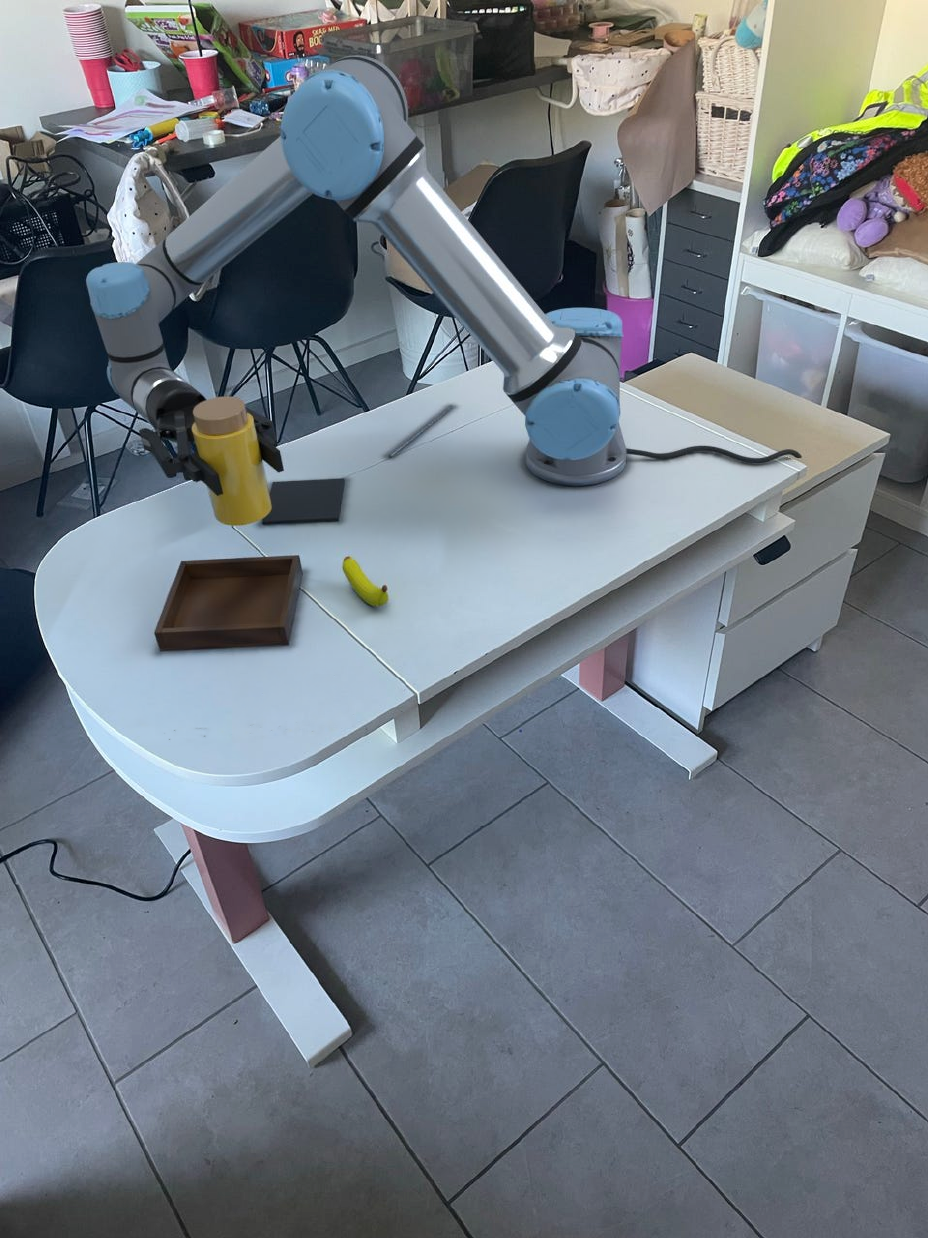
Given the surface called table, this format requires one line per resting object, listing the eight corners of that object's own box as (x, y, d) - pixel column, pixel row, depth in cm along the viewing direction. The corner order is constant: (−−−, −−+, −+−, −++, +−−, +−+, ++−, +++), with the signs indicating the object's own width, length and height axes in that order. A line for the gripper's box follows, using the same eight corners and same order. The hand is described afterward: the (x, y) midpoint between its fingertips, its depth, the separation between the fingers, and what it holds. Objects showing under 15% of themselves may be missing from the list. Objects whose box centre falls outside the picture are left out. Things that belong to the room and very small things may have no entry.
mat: (345, 481, 138) (344, 477, 138) (338, 521, 130) (338, 517, 130) (273, 485, 139) (272, 481, 138) (262, 525, 130) (261, 521, 130)
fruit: (397, 615, 113) (393, 583, 110) (382, 622, 112) (378, 590, 109) (356, 577, 119) (351, 546, 116) (342, 583, 118) (336, 552, 115)
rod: (453, 408, 156) (453, 405, 156) (392, 458, 144) (391, 455, 143) (450, 407, 156) (450, 404, 156) (388, 457, 144) (388, 453, 144)
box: (303, 573, 121) (299, 554, 119) (288, 645, 109) (284, 626, 107) (186, 579, 121) (180, 560, 119) (160, 651, 110) (153, 632, 108)
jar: (275, 493, 117) (254, 392, 108) (267, 524, 111) (244, 420, 102) (220, 496, 117) (194, 395, 108) (209, 527, 111) (181, 423, 102)
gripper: (246, 409, 128) (328, 471, 113) (107, 456, 119) (176, 531, 104) (235, 358, 123) (319, 416, 108) (89, 403, 114) (159, 474, 99)
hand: (248, 472), depth 106 cm, fingers closed on jar, 7 cm apart
